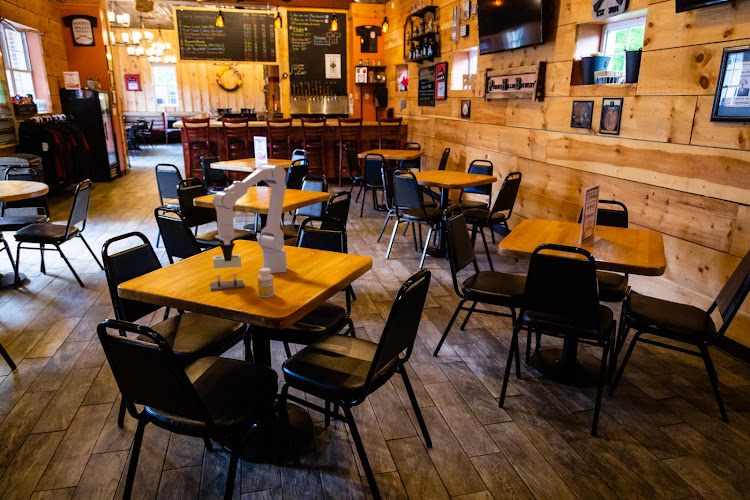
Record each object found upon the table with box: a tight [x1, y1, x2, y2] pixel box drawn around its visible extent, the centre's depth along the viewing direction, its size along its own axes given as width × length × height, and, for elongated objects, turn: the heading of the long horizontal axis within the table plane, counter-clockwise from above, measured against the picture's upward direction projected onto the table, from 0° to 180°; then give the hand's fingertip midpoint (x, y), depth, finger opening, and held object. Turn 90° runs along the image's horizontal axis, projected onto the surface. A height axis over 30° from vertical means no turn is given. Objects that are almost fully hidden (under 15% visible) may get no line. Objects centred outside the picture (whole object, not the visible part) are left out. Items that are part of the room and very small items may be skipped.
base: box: [210, 273, 245, 292], centre depth 191 cm, size 12×7×4 cm, turn 108°
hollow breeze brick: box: [212, 254, 242, 269], centre depth 192 cm, size 10×5×4 cm, turn 108°
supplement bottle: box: [257, 267, 275, 298], centre depth 181 cm, size 5×5×10 cm
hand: (227, 259), depth 192 cm, fingers closed on hollow breeze brick, 5 cm apart
